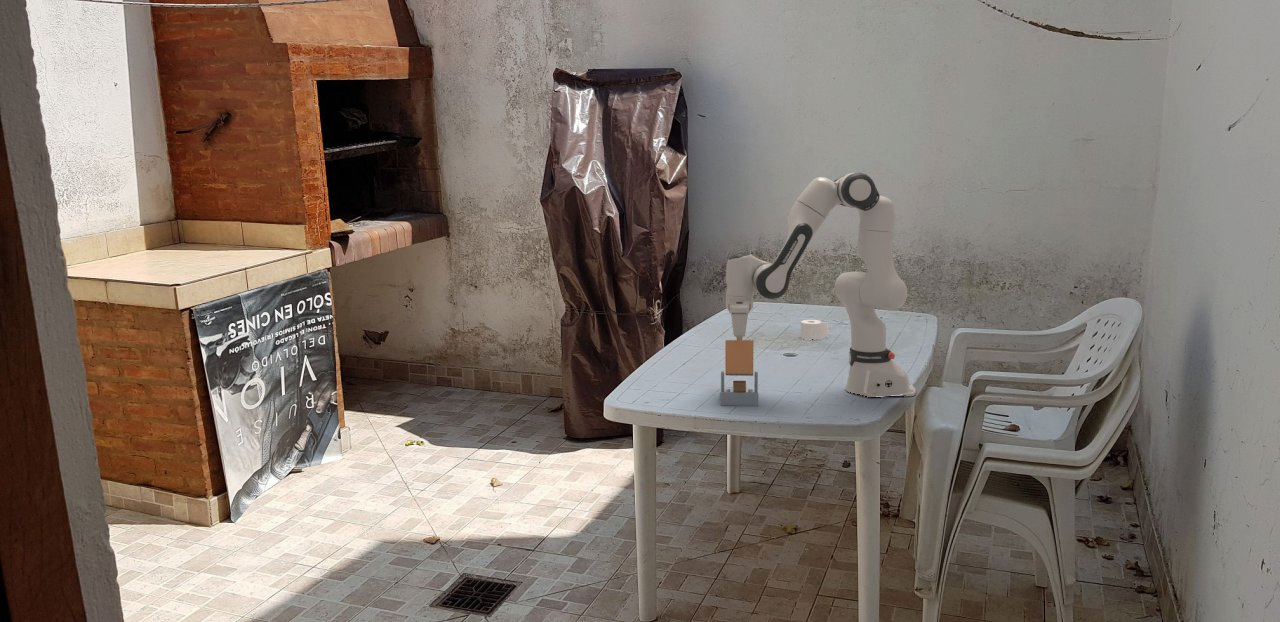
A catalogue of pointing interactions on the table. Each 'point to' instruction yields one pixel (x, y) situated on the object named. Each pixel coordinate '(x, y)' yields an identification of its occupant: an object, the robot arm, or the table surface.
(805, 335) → the toilet paper
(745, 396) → the housing base
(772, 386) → the table surface
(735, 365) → the lid
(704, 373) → the table surface
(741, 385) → the block
